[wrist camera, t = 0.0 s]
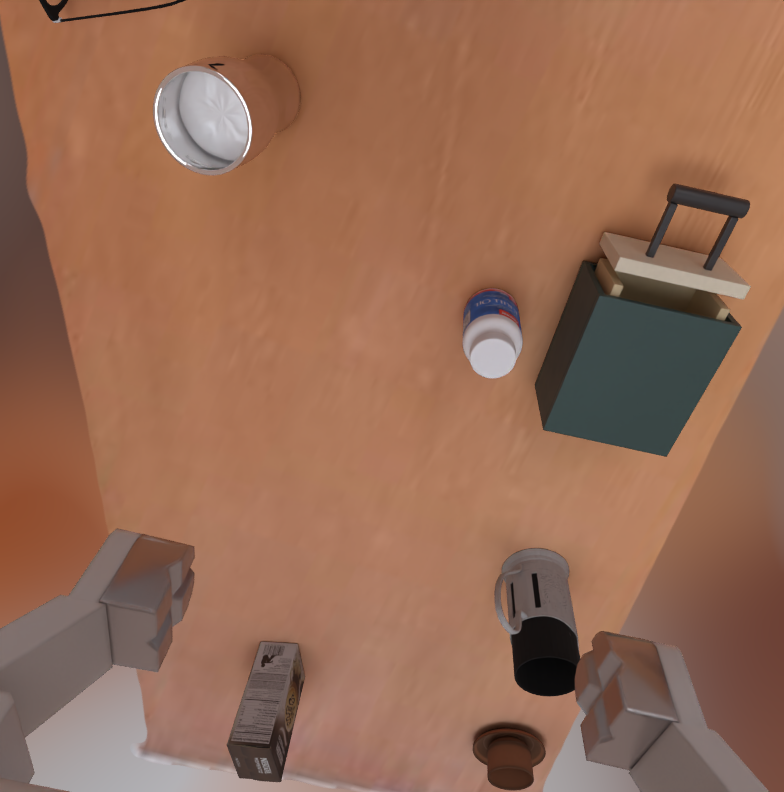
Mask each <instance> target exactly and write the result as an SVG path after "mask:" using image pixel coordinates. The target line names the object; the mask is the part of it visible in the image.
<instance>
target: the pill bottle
mask: <svg viewBox="0 0 784 792" xmlns="http://www.w3.org/2000/svg"><path fill="white" fill-rule="evenodd" d="M522 344H523V340H522V332H521V325H520V318H519V311H518V307H517V304H516V302H515V300H514V299H513V297H512V296H511V295H509V294H508V293H507V292H505V291H503V290H500V289H495V288H489V289H484V290H481V291H479V292H477V293H475V294H474V295H473V296H472V297H471V298H470V299H469V300H468V302H467V304H466V306H465V309H464V319H463V350H464V353H465V355H466V357H467V358H468V360H469V361H470V363H471V366H472V368H473V369H474V371H475V372H476V373H478V374H479V375H481V376H483V377H486V378H499V377H502V376H504V375H506V374H507V373H509V372H510V371H511V370H512V369H513V367H514V365H515V362H516V359H517V358H518V356H519V354H520V352H521V349H522Z"/></svg>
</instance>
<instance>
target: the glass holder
mask: <svg viewBox="0 0 784 792" xmlns="http://www.w3.org/2000/svg"><path fill="white" fill-rule="evenodd" d="M568 576H569V566H568V564H567V562H566V560H565V559H564V558H563V557H562V556H560V555H559V554H557V553H555V552H553V551H550V550H546V549H540V548H533V549H526V550H522V551H519V552H516V553H515V554H513V555H511V556H510V557H509V558H508V559H507V560H506V561H505V562H504V564H503V567H502V574H500V576H499V577H498V579H497V582H496V585H495V608H496V612H497V615H498V618H499V620H500V622H501V624H502V626H503V627H504V628H505V630H506V631H507V632H508V633H510V640H511V644H512V650H513V663H514V676H515V681H516V682H517V684H518V685H519V686H520V687H521V688H522V689H523V690H525V691H527V692H529V693H532V694H536V695H540V696H559V695H564V694H567V693H570V692H572V691H574V690H575V674H576V669H577V664H578V663H579V661H580V655H579V645H578V635H577V629H576V624H575V618H574V613H573V607H572V602H571V596H570V591H569V585H568V580H567V579H568ZM503 579H504V581H505V582H506V590H507V603H508V617H509V623H508V622H507V620H506V618H505V616H504V614H503V610H502V606H501V585H502V582H503Z"/></svg>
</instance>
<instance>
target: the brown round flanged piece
mask: <svg viewBox="0 0 784 792" xmlns="http://www.w3.org/2000/svg"><path fill="white" fill-rule="evenodd" d="M473 753H474V755H475V757H476V758H477V759H478V760H479V761H480V762H482V763H484V764H485V765H487V767H488V780H489V782H490V783H491V784H492V785H493V786H495V787H498V788H500V789H505V790H521V789H525V788H527V787H529V786H531V785H532V783H533V781H534V778H533V768H532V767H534V766H536V765H538V764H539V763H540V762H542V761H543V759H544V758H545V754H546V753H545V748H544V746H543V744H542V743H541V741H540V740H538V739H537V738H536V737H535V736H533V735H532V734H530V733H527V732H525V731H521V730H517V729H509V728H503V729H495V730H491V731H488V732H486V733H484V734H482V735H481V736H480V737H479V738H477V740H476V741H475V742H474V745H473Z"/></svg>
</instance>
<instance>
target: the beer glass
mask: <svg viewBox="0 0 784 792" xmlns="http://www.w3.org/2000/svg"><path fill="white" fill-rule="evenodd" d="M300 101H301V97H300V89H299V85H298V82H297V80H296V78H295V76H294V74H293V73H292V71H291V70H290V69H289V67H288V66H287V65H286V64H285V63H283V62H282V61H281V60H279V59H277V58H275V57H273V56H270V55H266V54H256V55H252V56H249V57H247V58H245V59H244V60H242V59H238V58H233V57H227V56H217V57H208V58H204V59H201V60H197V61H194V62H192V63H190V64H188V65H186V66H184V67H180V68H178V69H175V70H174V71H172V72H171V73H169V74H168V75H167V76H166V77H165V78H164V79H163V80H162V82H161V83H160V85H159V87H158V89H157V91H156V94H155V97H154V103H153V117H154V123H155V127H156V130H157V133H158V136H159V138H160V140H161V142H162V144H163V145H164V147H165V148H166V150H167V151H168V152H169V154H170V155H171V156H172V157H173V158H174V159H175V160H176V161H177V162H179V163H180V164H181V165H183V166H184V167H186V168H187V169H189V170H191V171H194V172H196V173H199V174H204V175H220V174H224V173H227V172H229V171H231V170H233V169H235V168H238V167H240V166H242V165H244V164H246V163H248V162H250V161H251V160H253V159H254V158H256V157H257V156H258V155H259V154H260V153H262V152H263V151H264V150H265V149H266V147H267V146H268V145H269V143H270V142H271V140H272V139H273V137H274V135H275V133H278V132H281V131H283V130H285V129H286V128H288V127H289V126H290V125H291V124H292V123H293V121H294V120H295V118H296V117H297V114H298V112H299V108H300Z"/></svg>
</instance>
